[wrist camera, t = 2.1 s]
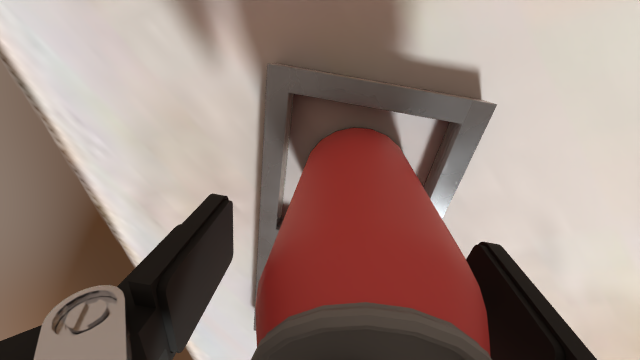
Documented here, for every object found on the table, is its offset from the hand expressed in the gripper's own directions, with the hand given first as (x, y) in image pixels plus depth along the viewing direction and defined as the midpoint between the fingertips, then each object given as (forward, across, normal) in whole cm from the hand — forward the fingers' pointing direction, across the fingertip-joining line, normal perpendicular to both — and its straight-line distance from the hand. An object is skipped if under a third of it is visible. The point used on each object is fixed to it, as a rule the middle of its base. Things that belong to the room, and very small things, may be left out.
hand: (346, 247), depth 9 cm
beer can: (+8, -1, 0) cm, 8 cm away
